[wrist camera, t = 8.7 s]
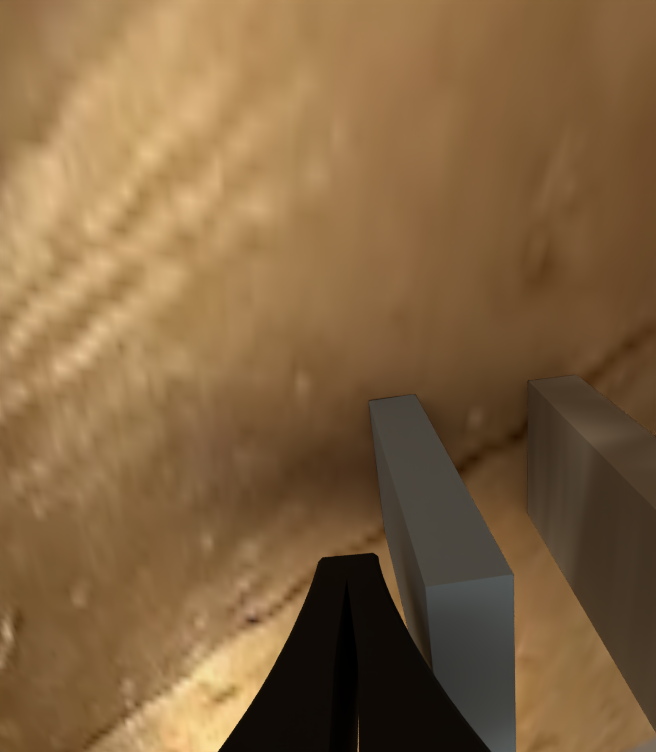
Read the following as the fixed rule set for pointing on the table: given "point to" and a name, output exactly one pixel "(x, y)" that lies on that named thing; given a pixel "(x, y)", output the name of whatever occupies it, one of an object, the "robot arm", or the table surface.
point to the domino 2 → (599, 517)
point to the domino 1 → (447, 570)
